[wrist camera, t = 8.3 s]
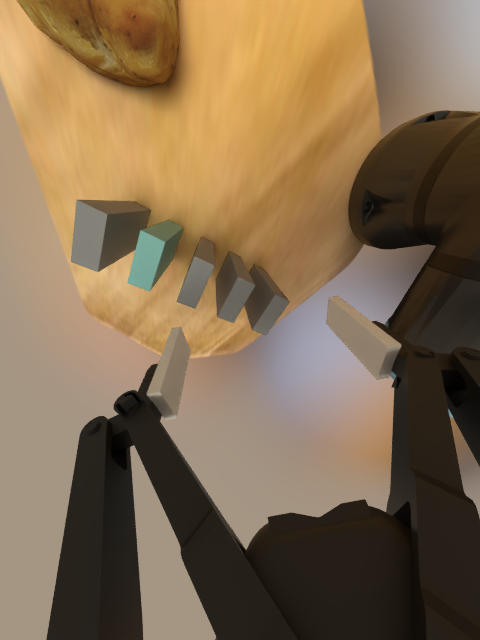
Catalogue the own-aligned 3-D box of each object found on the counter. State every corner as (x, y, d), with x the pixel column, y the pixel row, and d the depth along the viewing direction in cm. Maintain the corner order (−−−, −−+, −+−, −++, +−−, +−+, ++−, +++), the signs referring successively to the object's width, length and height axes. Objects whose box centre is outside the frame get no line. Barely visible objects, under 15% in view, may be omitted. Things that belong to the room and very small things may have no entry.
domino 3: (264, 269, 31) (289, 301, 20) (249, 294, 33) (266, 335, 23) (253, 264, 30) (275, 294, 20) (239, 290, 32) (252, 330, 22)
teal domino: (183, 227, 26) (165, 242, 16) (172, 259, 28) (149, 291, 18) (169, 219, 25) (140, 230, 15) (158, 253, 27) (127, 283, 17)
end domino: (150, 210, 24) (107, 214, 14) (141, 246, 26) (97, 272, 16) (134, 201, 24) (76, 199, 14) (126, 239, 26) (70, 261, 16)
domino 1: (213, 243, 27) (214, 265, 17) (201, 273, 29) (195, 308, 19) (201, 236, 27) (194, 256, 17) (189, 267, 29) (176, 301, 19)
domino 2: (240, 257, 29) (255, 285, 19) (226, 284, 31) (233, 322, 21) (228, 251, 28) (238, 276, 18) (215, 279, 30) (217, 316, 20)
